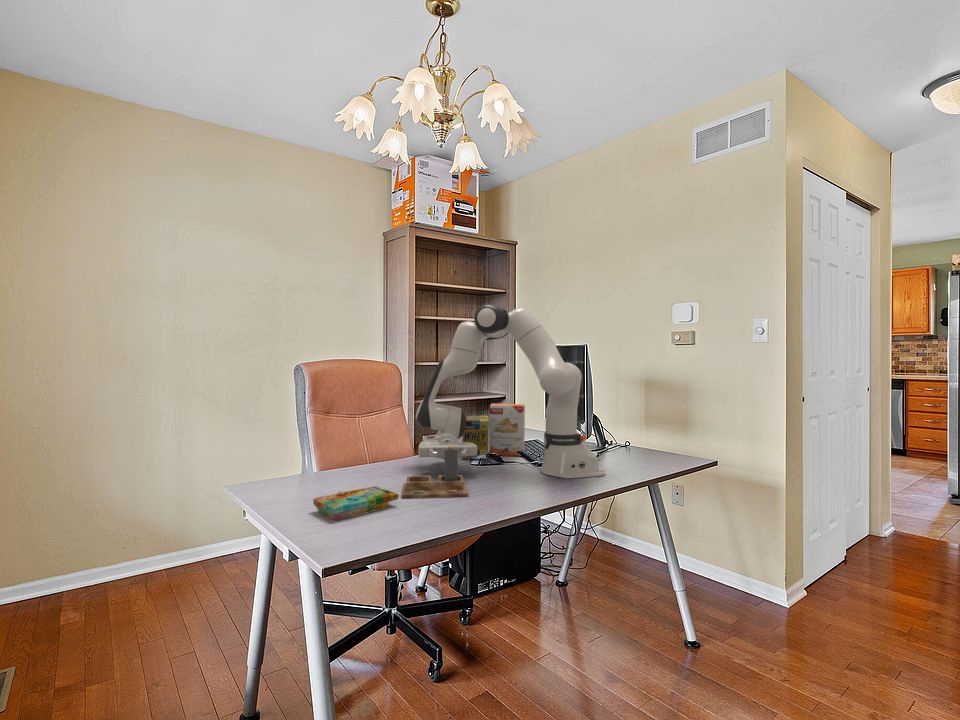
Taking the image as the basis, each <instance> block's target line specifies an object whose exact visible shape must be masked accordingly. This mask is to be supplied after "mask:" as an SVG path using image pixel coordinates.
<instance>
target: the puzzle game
mask: <svg viewBox="0 0 960 720" xmlns="http://www.w3.org/2000/svg"><path fill="white" fill-rule="evenodd" d="M399 497H400V494H399V493H397V492H393V491H391V490H388V489H386V488H383V487H380V486H378V485H373V486H368V487H364V488H358V489H352V490H348V491H343V492H342V491H337V493H333V494H327V495H324V496H319V497H315V498H314V499H312V501H313V503H312V504H313V505H314V506H315V508H316V509H317V510H318V512H319V513H320V512H321V513H320V514H322V513H323V515H324V514H325V515H324V516H326V515H327V516H326V517H328V516H329V518H330V517H331V518H330V519H332V518H333V519H332V520H334V519H335V521H339V520H338V519H340V520H343V519H342V518H344V519H346V517H348V518H350V516H352V517H354V516H353V515H356V516H358V515H357V514H360V515H362V514H361V513H364V514H366V513H365V512H368V513H371V512H370V511H372V512H374V511H373V510H376V511H379V510H378V509H380V510H383V509H382V508H384V509H386V507H387V506H388V504H389V503H390V502H394V501H397V500H398V499H399Z"/></svg>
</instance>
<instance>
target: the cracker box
mask: <svg viewBox="0 0 960 720" xmlns="http://www.w3.org/2000/svg"><path fill="white" fill-rule="evenodd" d="M525 405H526V404H525V403H524V404H523V403H522V404H520V403H519V404H517V403H491V404H490V405H489V446H488V454H489V453H495V454H498V455H502V456H503V457H519V458H521V457H520V455H519V454H518V453H517V451H523V450H524V451H525V430H526V428H525V425H526V424H525V423H526V421H525V418H526V417H525V414H526V411H525V410H526V407H525ZM498 455H497V456H498ZM502 456H501V457H502Z"/></svg>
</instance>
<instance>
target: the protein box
mask: <svg viewBox="0 0 960 720" xmlns="http://www.w3.org/2000/svg"><path fill="white" fill-rule="evenodd" d="M465 415H466V414H465ZM461 438H462V439H461V443H474V444H476V445H477V456H478V455H482V454H488V455H489V440H490V420H489V416H488V415H472V414H471V415H466V427H465V431H464V434H463V436H462V437H461ZM474 457H476V456H465V457H461V459H462V460H465V459H472V458H474Z"/></svg>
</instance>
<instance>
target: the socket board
mask: <svg viewBox="0 0 960 720" xmlns="http://www.w3.org/2000/svg"><path fill="white" fill-rule="evenodd" d="M469 493H470V492H469V490H468V487H467V483H466V481H465V480H464V478H463V475H462V474H458V481H444V474H442V475H438V481H432V476H431V475H409V476H408V475H407V476H406V481H405V482H403V485H402V490H401V496H400V497H401V498H402V499H430V498H429V497H442V498H468V497H469ZM401 498H400V499H401Z"/></svg>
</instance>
